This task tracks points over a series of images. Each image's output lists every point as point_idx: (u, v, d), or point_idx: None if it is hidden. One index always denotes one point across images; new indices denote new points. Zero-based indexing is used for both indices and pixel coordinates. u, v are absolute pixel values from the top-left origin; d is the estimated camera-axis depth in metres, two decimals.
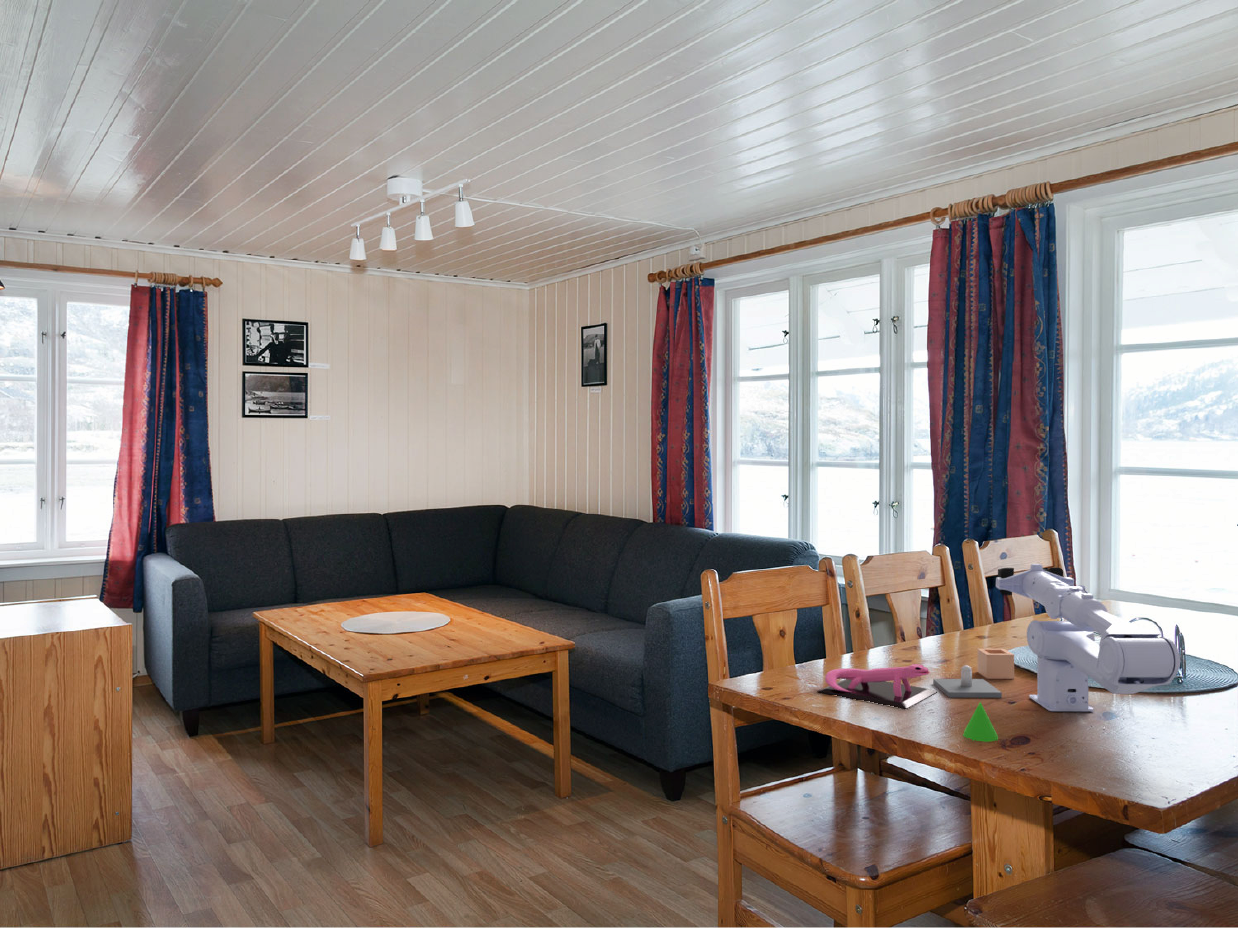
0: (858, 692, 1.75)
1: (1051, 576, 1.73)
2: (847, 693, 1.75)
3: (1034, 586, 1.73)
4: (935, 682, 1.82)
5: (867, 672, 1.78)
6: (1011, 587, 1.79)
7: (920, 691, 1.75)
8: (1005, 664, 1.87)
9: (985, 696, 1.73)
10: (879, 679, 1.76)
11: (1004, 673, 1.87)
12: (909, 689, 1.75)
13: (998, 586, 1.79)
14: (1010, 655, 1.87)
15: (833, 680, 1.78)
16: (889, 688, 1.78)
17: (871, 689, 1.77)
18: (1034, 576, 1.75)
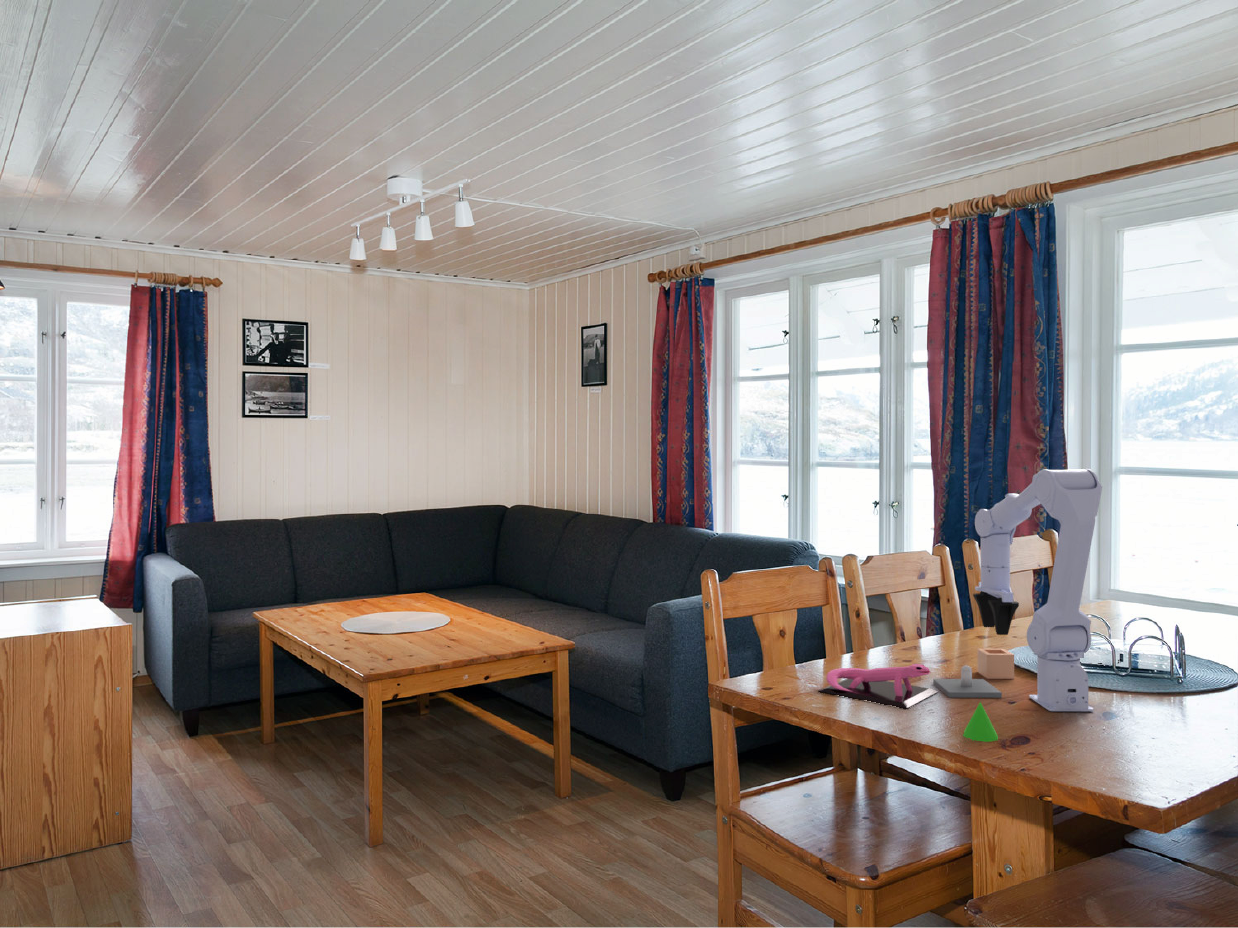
0: (859, 692, 1.75)
1: None
2: (848, 693, 1.75)
3: (981, 560, 1.90)
4: (935, 682, 1.82)
5: (868, 672, 1.78)
6: (1007, 592, 1.85)
7: (921, 691, 1.75)
8: (1005, 664, 1.87)
9: (985, 696, 1.73)
10: (880, 679, 1.76)
11: (1004, 673, 1.87)
12: (910, 689, 1.75)
13: (1011, 594, 1.82)
14: (1010, 655, 1.87)
15: (834, 680, 1.78)
16: (890, 688, 1.78)
17: (872, 689, 1.77)
18: (987, 575, 1.88)
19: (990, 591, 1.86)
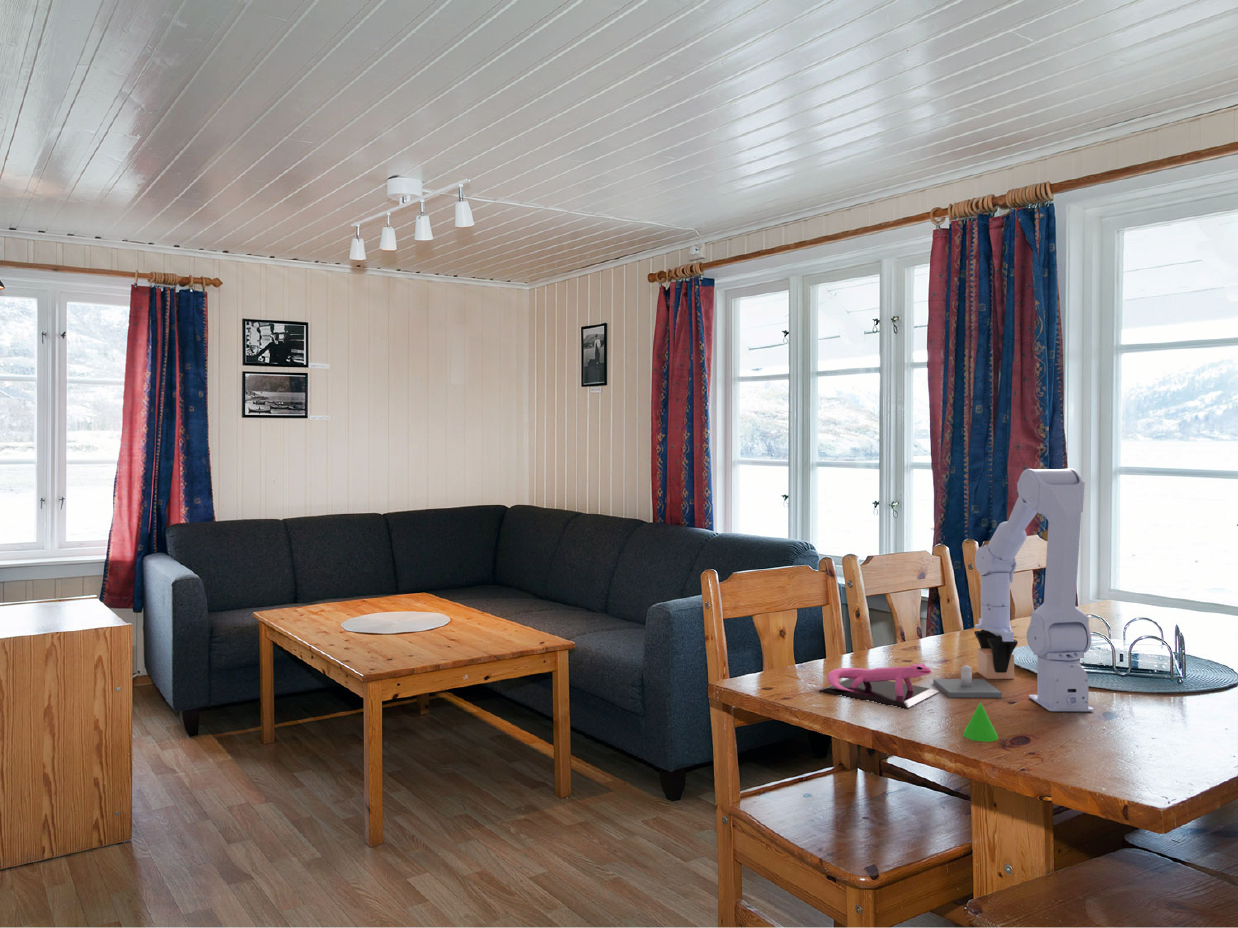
0: (860, 691, 1.75)
1: None
2: (849, 692, 1.75)
3: (981, 598, 1.90)
4: (935, 682, 1.82)
5: (869, 671, 1.78)
6: (1007, 630, 1.85)
7: (922, 691, 1.75)
8: None
9: (985, 696, 1.73)
10: (881, 678, 1.76)
11: (1004, 673, 1.87)
12: (911, 689, 1.75)
13: (1011, 634, 1.82)
14: None
15: (835, 679, 1.79)
16: (891, 687, 1.78)
17: (873, 688, 1.77)
18: (987, 613, 1.88)
19: (990, 629, 1.87)
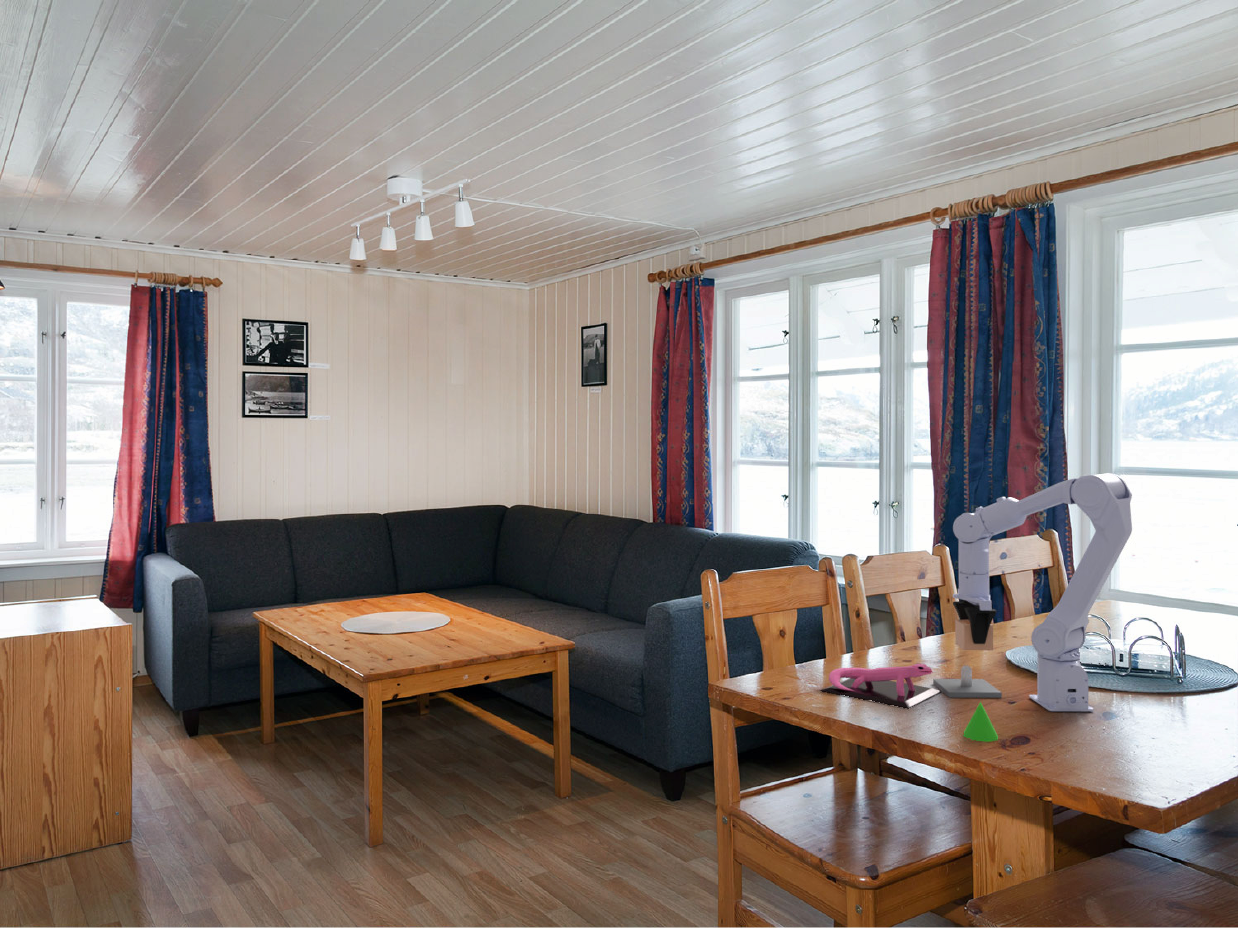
0: (861, 691, 1.75)
1: None
2: (850, 692, 1.75)
3: (962, 567, 1.80)
4: (935, 682, 1.82)
5: (870, 671, 1.78)
6: (985, 599, 1.76)
7: (923, 690, 1.75)
8: None
9: (985, 696, 1.73)
10: (882, 678, 1.76)
11: (982, 644, 1.78)
12: (912, 688, 1.76)
13: (989, 602, 1.74)
14: None
15: (836, 679, 1.79)
16: (893, 687, 1.78)
17: (874, 688, 1.77)
18: (964, 582, 1.79)
19: (968, 599, 1.78)
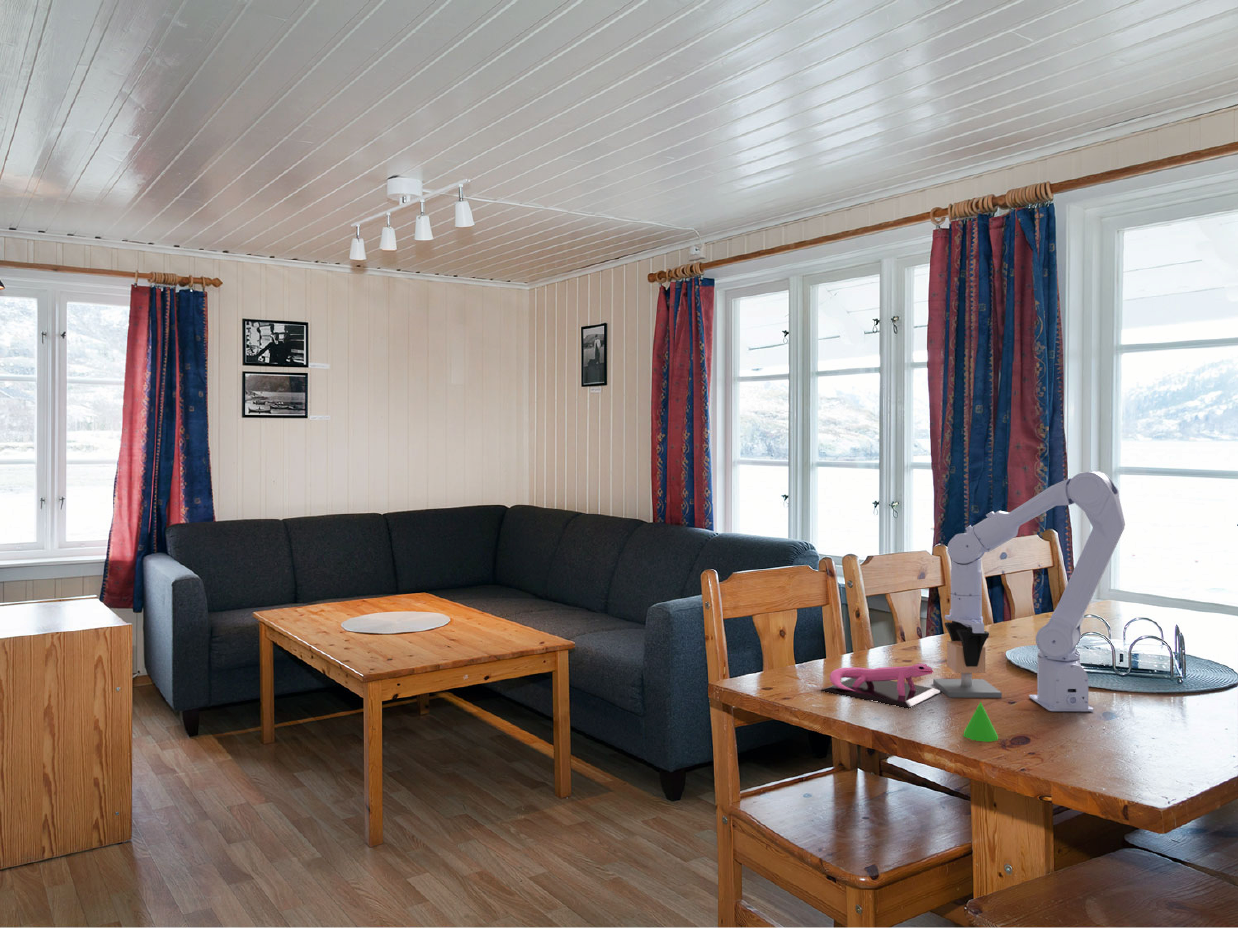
0: (862, 691, 1.76)
1: None
2: (851, 692, 1.75)
3: (957, 589, 1.76)
4: (935, 682, 1.82)
5: (871, 671, 1.78)
6: (978, 621, 1.73)
7: (924, 690, 1.75)
8: None
9: (985, 696, 1.73)
10: (883, 678, 1.76)
11: (975, 667, 1.75)
12: (913, 688, 1.76)
13: (981, 625, 1.71)
14: None
15: (837, 679, 1.79)
16: (893, 687, 1.78)
17: (875, 688, 1.77)
18: (957, 603, 1.76)
19: (960, 621, 1.75)
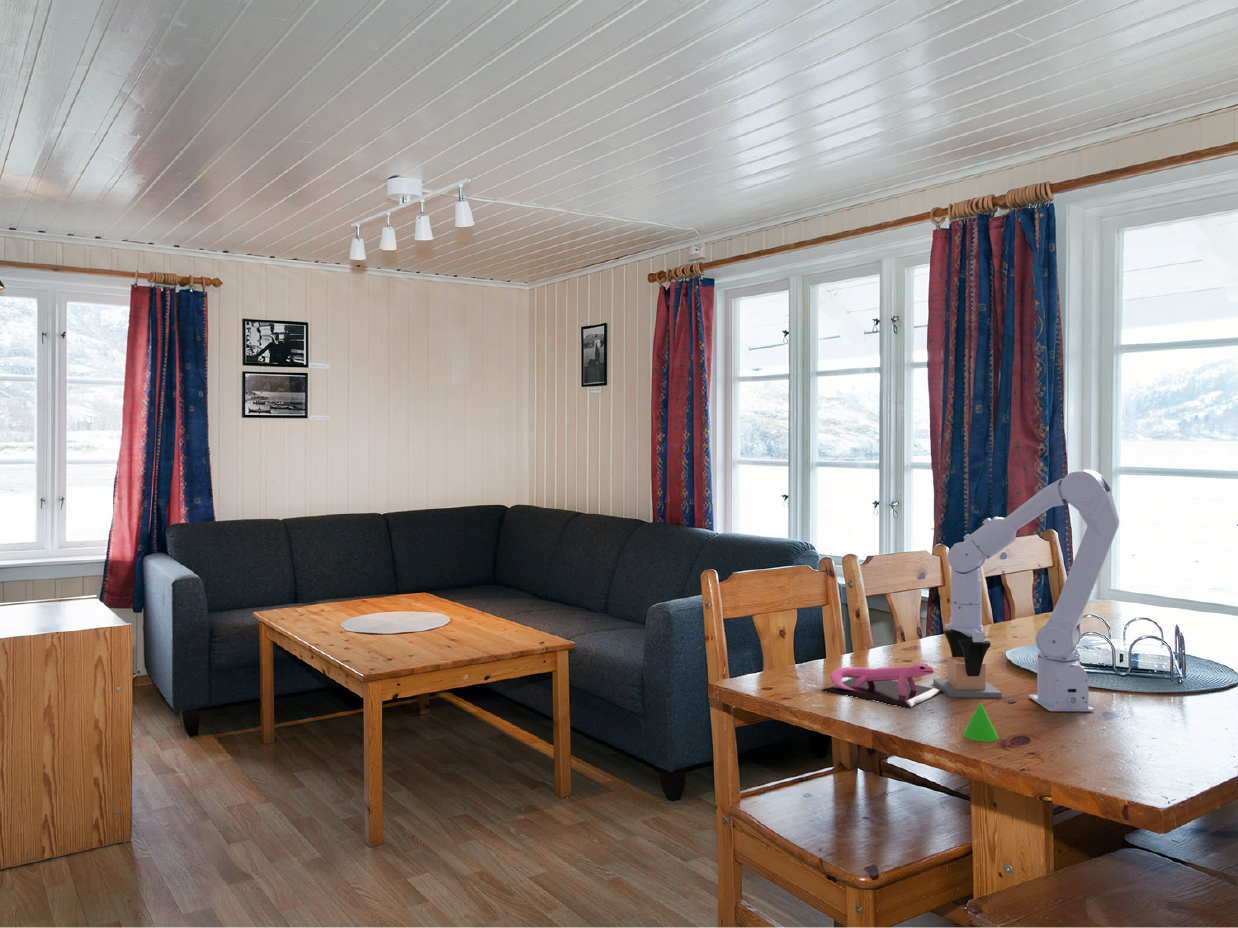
0: (863, 691, 1.76)
1: None
2: (852, 692, 1.76)
3: (957, 598, 1.76)
4: (935, 682, 1.82)
5: (872, 671, 1.78)
6: (978, 630, 1.73)
7: (925, 690, 1.76)
8: None
9: (985, 696, 1.73)
10: (884, 678, 1.76)
11: (975, 683, 1.75)
12: (914, 688, 1.76)
13: (981, 634, 1.71)
14: None
15: (838, 678, 1.79)
16: (894, 687, 1.78)
17: (876, 688, 1.78)
18: (957, 612, 1.76)
19: (960, 629, 1.75)
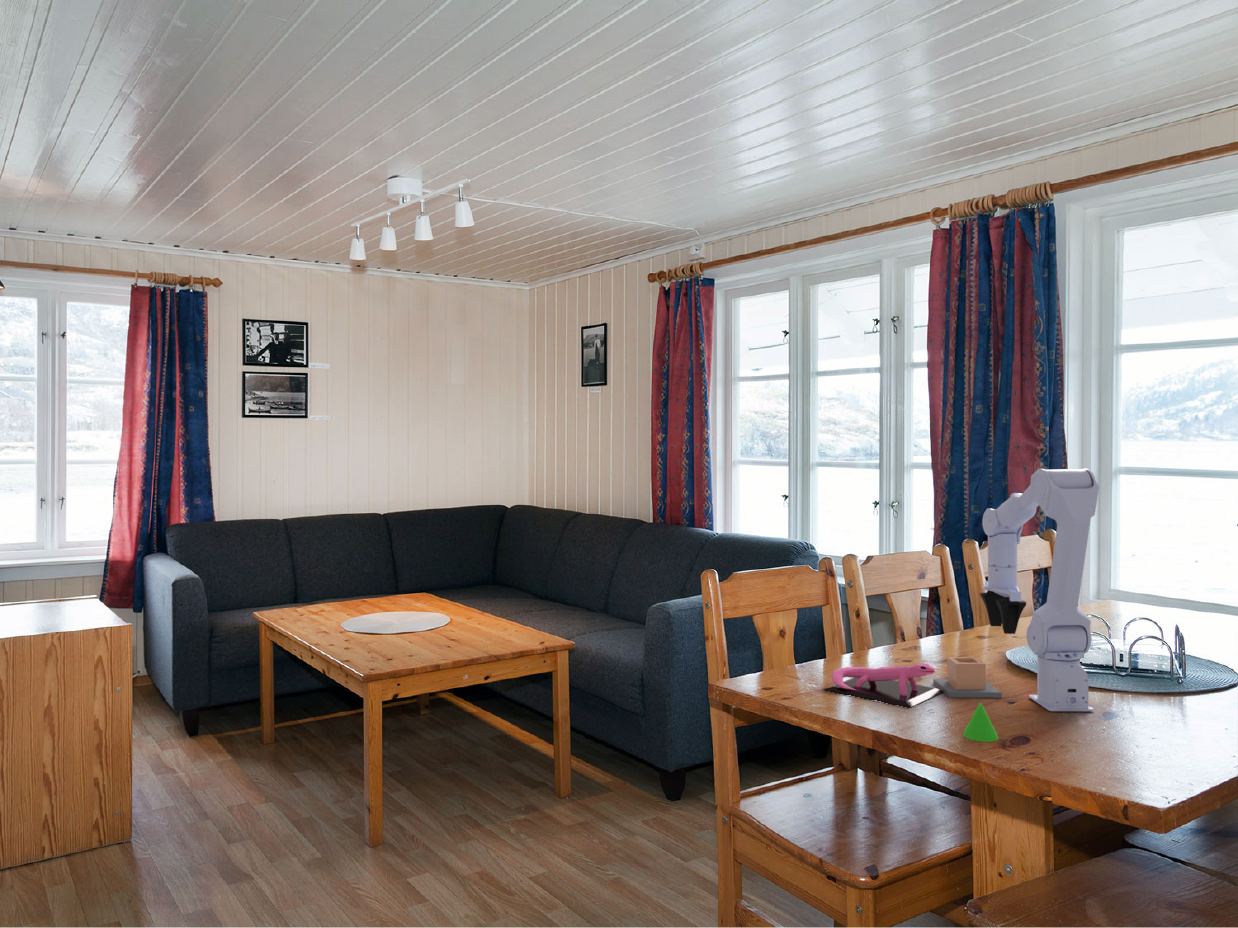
0: (864, 690, 1.76)
1: None
2: (853, 691, 1.76)
3: (988, 559, 1.91)
4: (935, 682, 1.82)
5: (873, 671, 1.79)
6: (1014, 591, 1.85)
7: (926, 690, 1.76)
8: (976, 674, 1.75)
9: (985, 696, 1.73)
10: (885, 678, 1.76)
11: (975, 683, 1.75)
12: (915, 688, 1.76)
13: (1018, 594, 1.83)
14: (981, 664, 1.75)
15: (839, 678, 1.79)
16: (896, 687, 1.78)
17: (877, 688, 1.78)
18: (994, 574, 1.89)
19: (997, 590, 1.87)
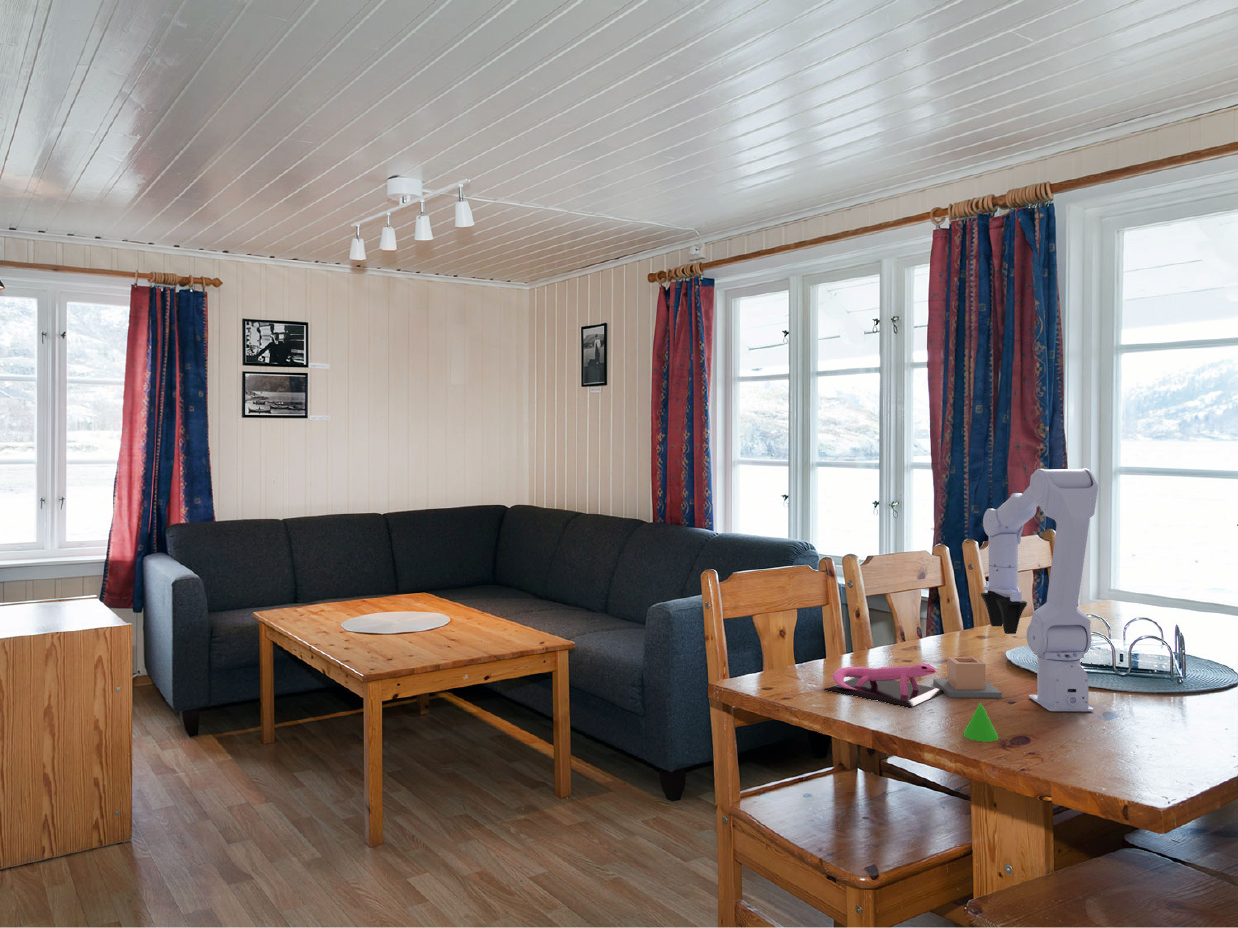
0: (865, 690, 1.76)
1: None
2: (854, 691, 1.76)
3: None
4: (935, 682, 1.82)
5: (875, 670, 1.79)
6: (1015, 591, 1.86)
7: (927, 690, 1.76)
8: (976, 674, 1.75)
9: (985, 696, 1.73)
10: (886, 678, 1.77)
11: (975, 683, 1.75)
12: (916, 688, 1.76)
13: (1019, 594, 1.83)
14: (981, 664, 1.75)
15: (840, 678, 1.80)
16: (897, 687, 1.78)
17: (878, 687, 1.78)
18: (994, 574, 1.89)
19: (998, 590, 1.87)
